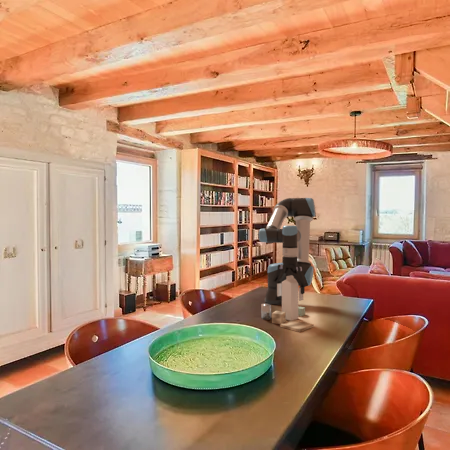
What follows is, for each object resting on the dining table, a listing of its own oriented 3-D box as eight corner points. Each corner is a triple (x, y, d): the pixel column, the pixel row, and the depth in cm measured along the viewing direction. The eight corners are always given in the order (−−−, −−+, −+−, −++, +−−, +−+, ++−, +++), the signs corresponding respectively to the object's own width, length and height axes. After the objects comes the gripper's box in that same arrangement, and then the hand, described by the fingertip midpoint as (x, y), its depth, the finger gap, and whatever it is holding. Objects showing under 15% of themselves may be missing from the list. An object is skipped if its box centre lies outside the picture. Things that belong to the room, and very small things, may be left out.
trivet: (280, 326, 175) (280, 324, 175) (294, 321, 183) (294, 319, 183) (299, 332, 167) (299, 329, 167) (313, 326, 175) (313, 324, 175)
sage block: (289, 314, 197) (289, 307, 196) (293, 312, 200) (293, 305, 200) (302, 316, 193) (302, 309, 192) (305, 314, 196) (305, 307, 196)
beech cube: (271, 323, 182) (271, 312, 182) (276, 320, 186) (276, 310, 186) (281, 324, 179) (281, 314, 179) (285, 322, 183) (285, 312, 183)
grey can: (259, 318, 190) (259, 304, 190) (265, 316, 193) (265, 302, 193) (266, 320, 186) (266, 306, 186) (273, 318, 190) (273, 304, 189)
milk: (298, 318, 188) (298, 275, 188) (291, 321, 184) (291, 277, 183) (288, 316, 193) (289, 274, 192) (281, 318, 189) (281, 275, 188)
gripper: (266, 254, 194) (266, 295, 195) (306, 258, 176) (306, 303, 176) (275, 253, 199) (275, 293, 200) (315, 257, 181) (315, 300, 181)
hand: (289, 298), depth 188 cm, fingers open, 13 cm apart
